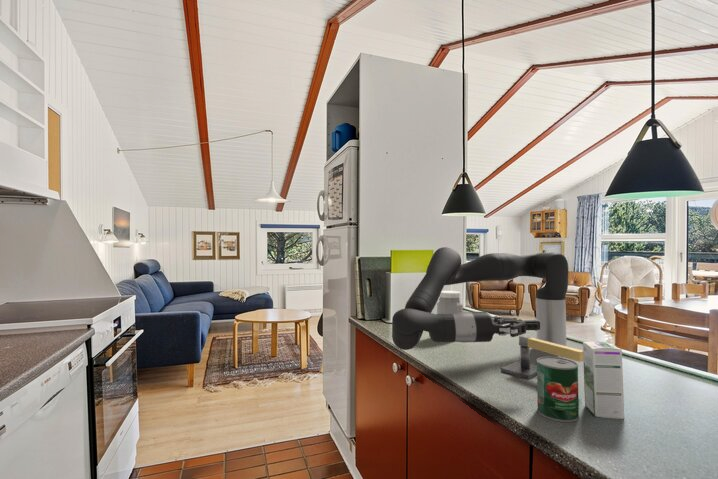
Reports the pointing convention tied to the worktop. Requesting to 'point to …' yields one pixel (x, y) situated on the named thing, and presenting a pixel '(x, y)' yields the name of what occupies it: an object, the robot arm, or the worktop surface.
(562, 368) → the canned tomato
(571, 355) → the bar
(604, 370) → the syrup box
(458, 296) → the jar
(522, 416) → the worktop surface
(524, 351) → the post
